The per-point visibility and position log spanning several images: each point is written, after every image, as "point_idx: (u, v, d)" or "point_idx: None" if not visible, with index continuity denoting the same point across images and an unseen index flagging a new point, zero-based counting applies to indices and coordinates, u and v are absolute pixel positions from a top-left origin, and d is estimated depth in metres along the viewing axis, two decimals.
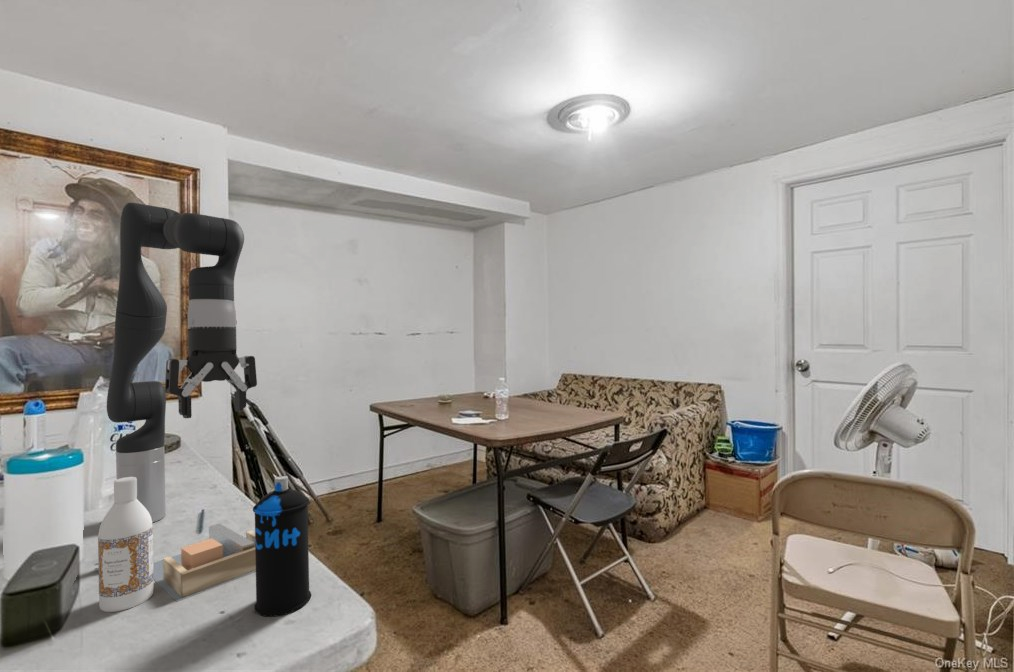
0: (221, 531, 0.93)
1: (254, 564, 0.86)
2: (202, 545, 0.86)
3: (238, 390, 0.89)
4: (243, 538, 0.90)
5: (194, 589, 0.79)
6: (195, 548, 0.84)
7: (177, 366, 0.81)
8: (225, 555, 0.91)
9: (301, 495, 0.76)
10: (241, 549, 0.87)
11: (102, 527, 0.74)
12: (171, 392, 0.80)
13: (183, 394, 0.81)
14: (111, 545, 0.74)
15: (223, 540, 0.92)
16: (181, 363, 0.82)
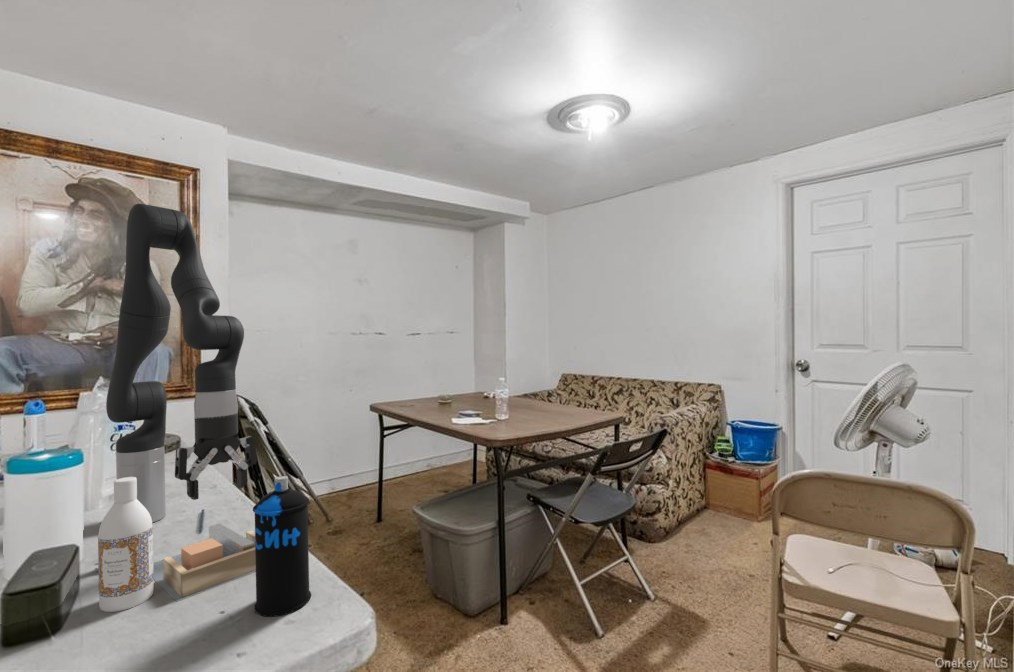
0: (221, 531, 0.93)
1: (254, 564, 0.86)
2: (202, 545, 0.86)
3: (240, 468, 0.99)
4: (243, 538, 0.90)
5: (194, 589, 0.79)
6: (195, 548, 0.84)
7: (185, 454, 0.90)
8: (225, 555, 0.91)
9: (301, 495, 0.76)
10: (241, 549, 0.87)
11: (102, 527, 0.74)
12: (180, 478, 0.90)
13: (191, 479, 0.91)
14: (111, 545, 0.74)
15: (223, 540, 0.92)
16: (189, 451, 0.91)
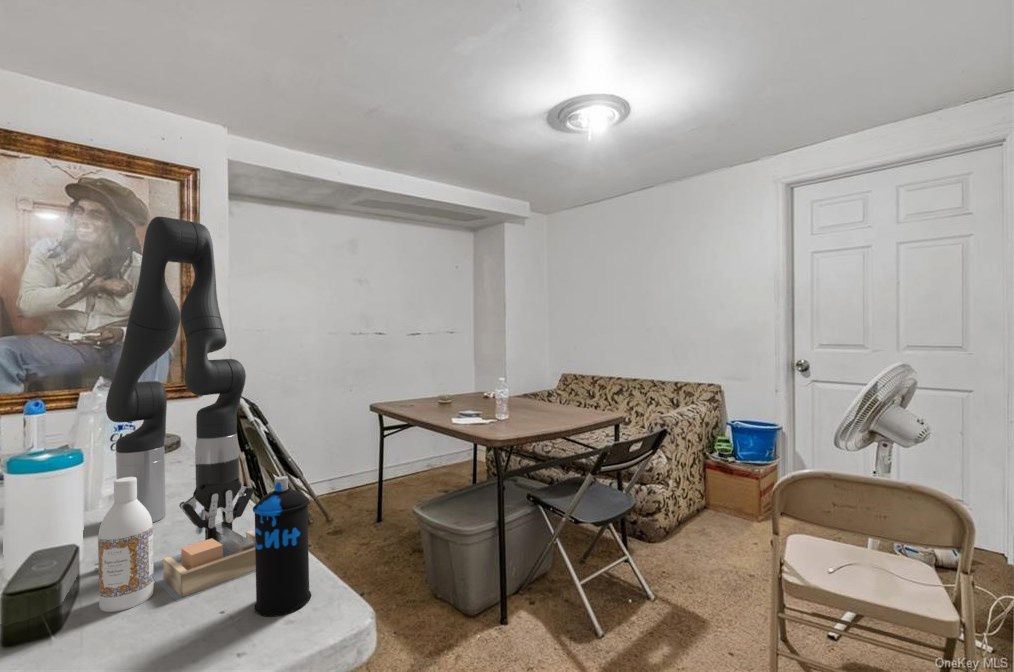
0: (221, 531, 0.93)
1: (254, 564, 0.86)
2: (202, 545, 0.86)
3: (225, 522, 0.96)
4: (243, 538, 0.90)
5: (194, 589, 0.79)
6: (195, 548, 0.84)
7: (191, 508, 0.91)
8: (225, 555, 0.91)
9: (301, 495, 0.76)
10: (241, 549, 0.87)
11: (102, 527, 0.74)
12: (201, 527, 0.92)
13: (210, 527, 0.93)
14: (111, 545, 0.74)
15: (223, 540, 0.92)
16: (192, 502, 0.92)
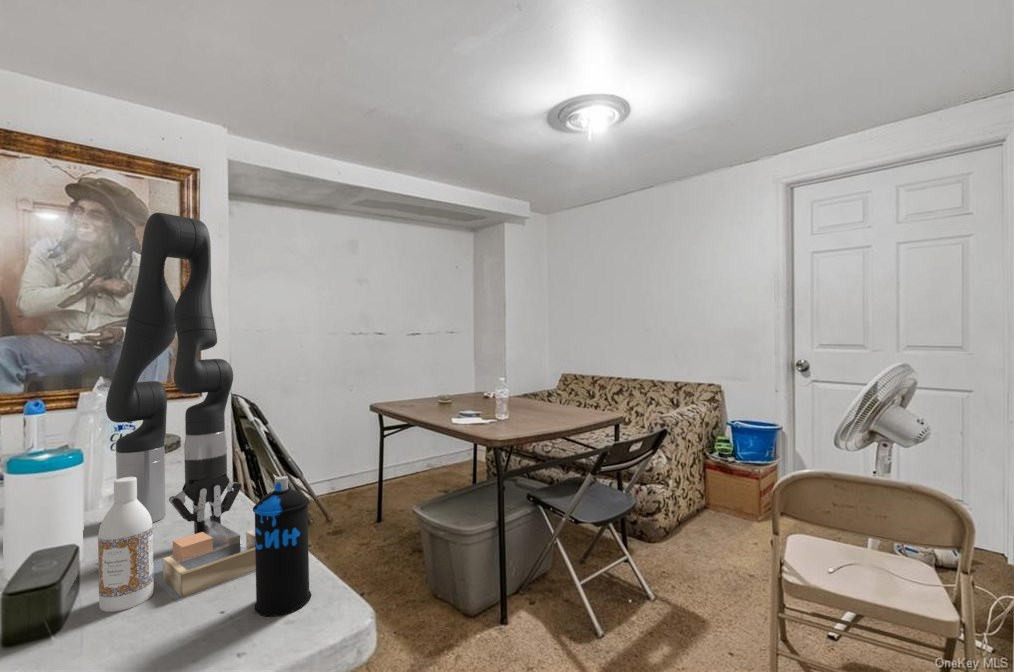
0: (209, 525, 0.97)
1: (254, 564, 0.86)
2: (193, 538, 0.89)
3: (213, 516, 1.00)
4: (230, 531, 0.93)
5: (194, 589, 0.79)
6: (186, 541, 0.88)
7: (180, 502, 0.95)
8: (213, 547, 0.95)
9: (301, 495, 0.76)
10: (228, 542, 0.90)
11: (102, 527, 0.74)
12: (189, 520, 0.96)
13: (199, 520, 0.97)
14: (111, 545, 0.74)
15: (211, 533, 0.95)
16: (181, 497, 0.95)
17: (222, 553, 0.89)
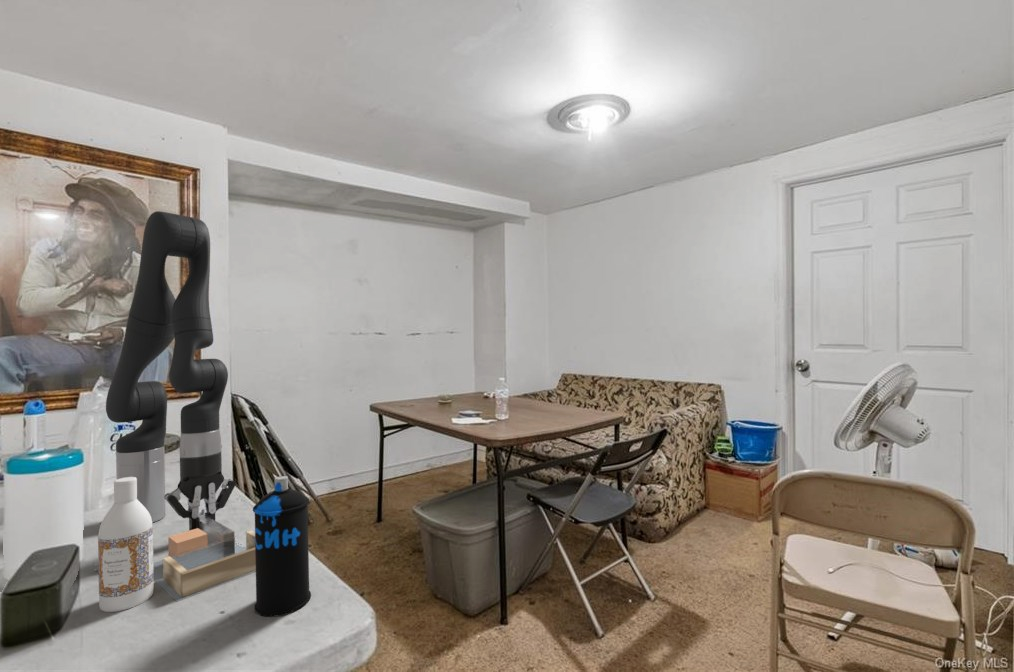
0: (204, 522, 0.99)
1: (254, 564, 0.86)
2: (188, 534, 0.91)
3: (208, 512, 1.02)
4: (224, 527, 0.95)
5: (194, 589, 0.79)
6: (181, 537, 0.90)
7: (175, 499, 0.96)
8: (208, 544, 0.97)
9: (301, 495, 0.76)
10: (222, 538, 0.92)
11: (102, 527, 0.74)
12: (184, 517, 0.98)
13: (194, 517, 0.99)
14: (111, 545, 0.74)
15: (206, 530, 0.97)
16: (176, 494, 0.97)
17: (216, 549, 0.91)
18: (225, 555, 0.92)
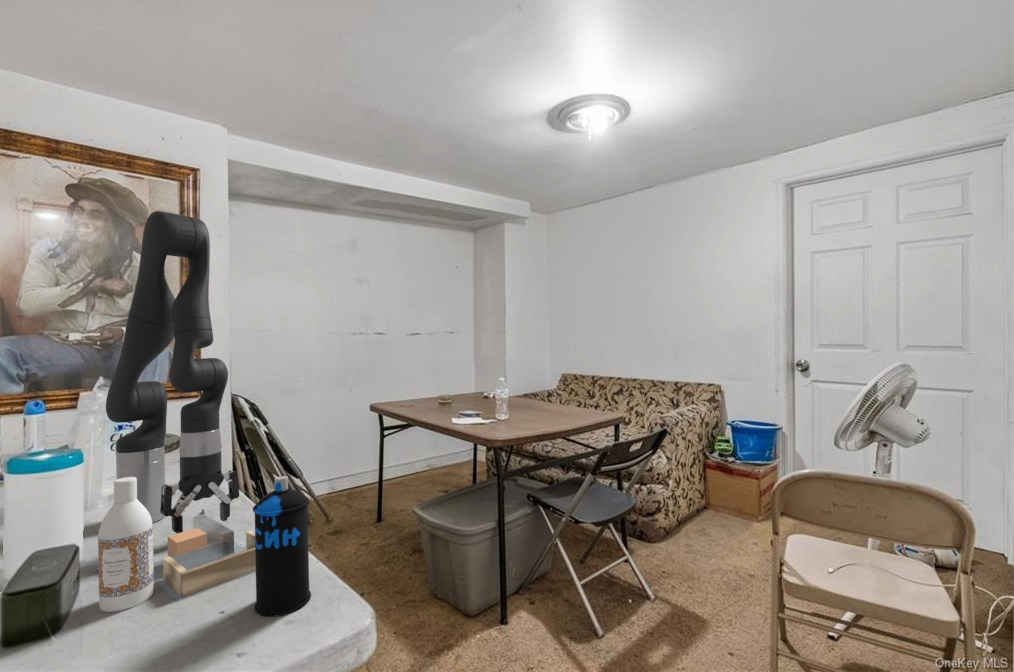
0: (204, 521, 0.99)
1: (254, 564, 0.86)
2: (187, 534, 0.91)
3: (223, 502, 1.04)
4: (224, 527, 0.95)
5: (194, 589, 0.79)
6: (180, 537, 0.90)
7: (170, 492, 0.96)
8: (207, 543, 0.97)
9: (301, 495, 0.76)
10: (222, 538, 0.92)
11: (102, 527, 0.74)
12: (165, 515, 0.95)
13: (175, 515, 0.97)
14: (111, 545, 0.74)
15: (206, 529, 0.97)
16: (174, 488, 0.97)
17: (216, 549, 0.91)
18: (224, 555, 0.92)
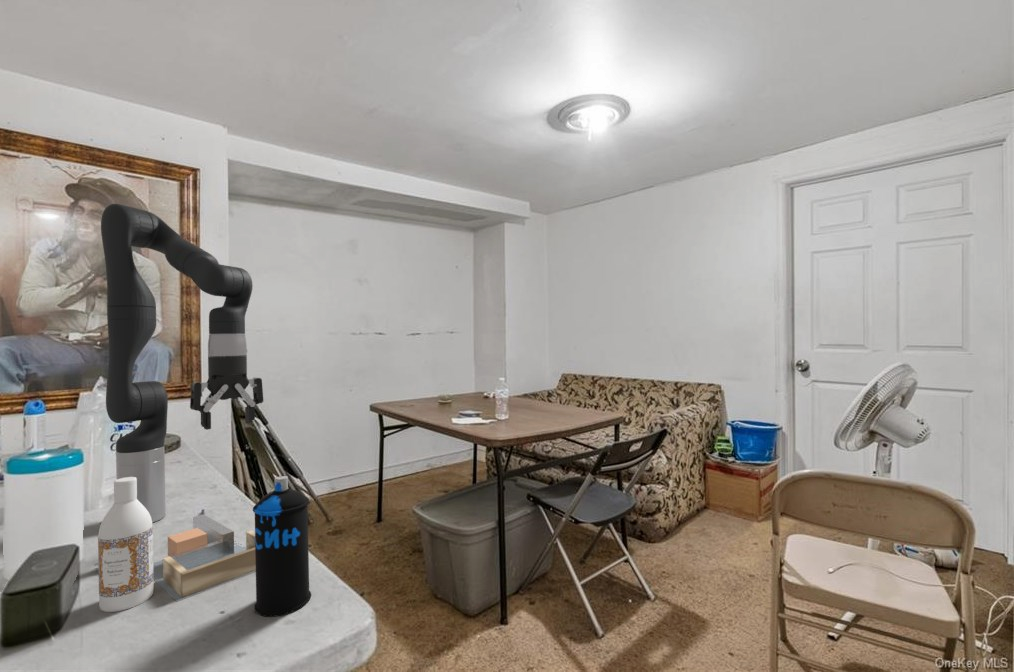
0: (204, 521, 0.99)
1: (254, 564, 0.86)
2: (187, 534, 0.91)
3: (248, 406, 1.09)
4: (224, 527, 0.95)
5: (194, 589, 0.79)
6: (180, 537, 0.90)
7: (200, 388, 1.01)
8: (207, 543, 0.97)
9: (301, 495, 0.76)
10: (222, 538, 0.92)
11: (102, 527, 0.74)
12: (195, 409, 1.00)
13: (204, 410, 1.01)
14: (111, 545, 0.74)
15: (206, 529, 0.97)
16: (203, 385, 1.02)
17: (216, 549, 0.91)
18: (224, 555, 0.92)
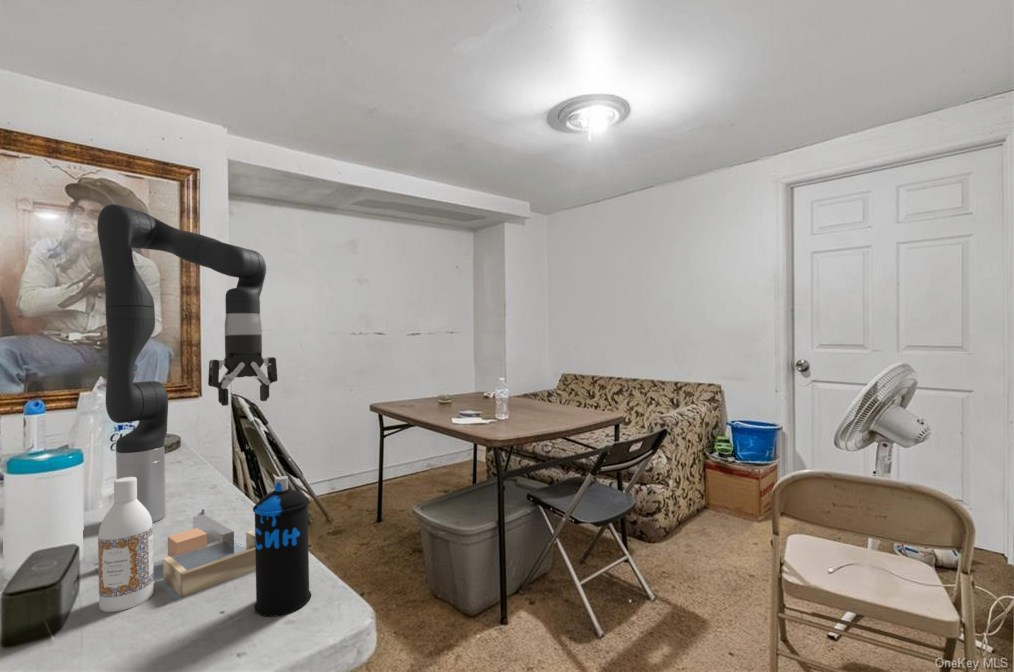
0: (204, 521, 0.99)
1: (254, 564, 0.86)
2: (187, 534, 0.91)
3: (263, 384, 1.13)
4: (224, 527, 0.95)
5: (194, 589, 0.79)
6: (180, 537, 0.90)
7: (218, 365, 1.04)
8: (207, 543, 0.97)
9: (301, 495, 0.76)
10: (222, 538, 0.92)
11: (102, 527, 0.74)
12: (213, 385, 1.03)
13: (222, 387, 1.05)
14: (111, 545, 0.74)
15: (206, 529, 0.97)
16: (220, 363, 1.05)
17: (216, 549, 0.91)
18: (224, 555, 0.92)
